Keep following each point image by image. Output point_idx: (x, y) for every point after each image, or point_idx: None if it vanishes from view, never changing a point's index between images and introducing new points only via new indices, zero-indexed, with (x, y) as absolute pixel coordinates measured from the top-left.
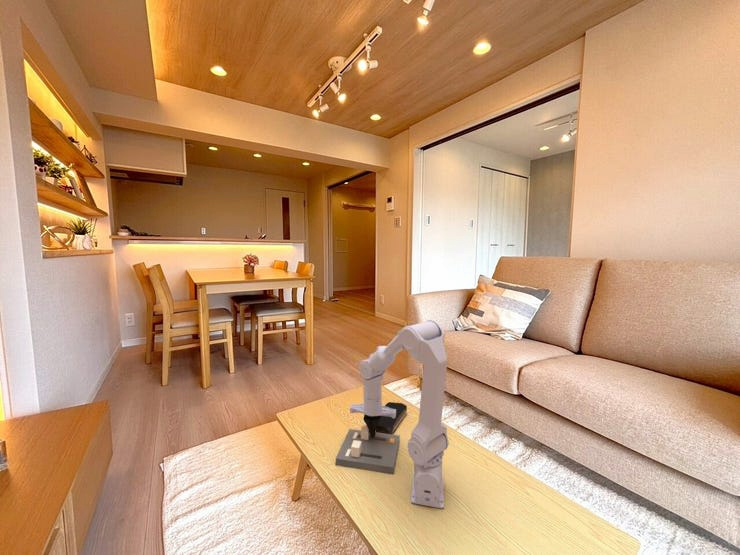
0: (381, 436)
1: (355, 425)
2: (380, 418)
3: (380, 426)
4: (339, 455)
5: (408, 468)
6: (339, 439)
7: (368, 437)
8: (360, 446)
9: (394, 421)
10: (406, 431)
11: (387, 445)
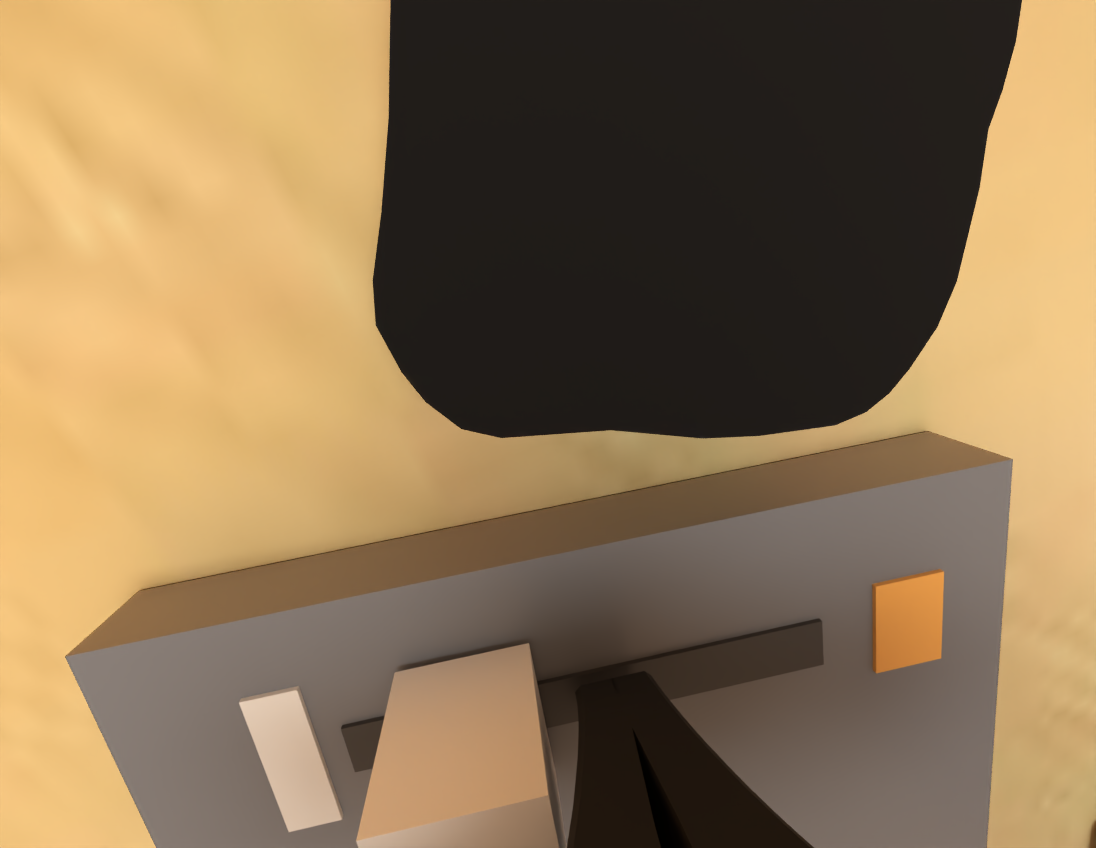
0: (726, 600)
1: (69, 326)
2: (570, 125)
3: (663, 424)
4: None
5: (1046, 777)
6: (69, 739)
7: (554, 776)
8: None
9: (961, 170)
10: (1009, 154)
11: (859, 733)
